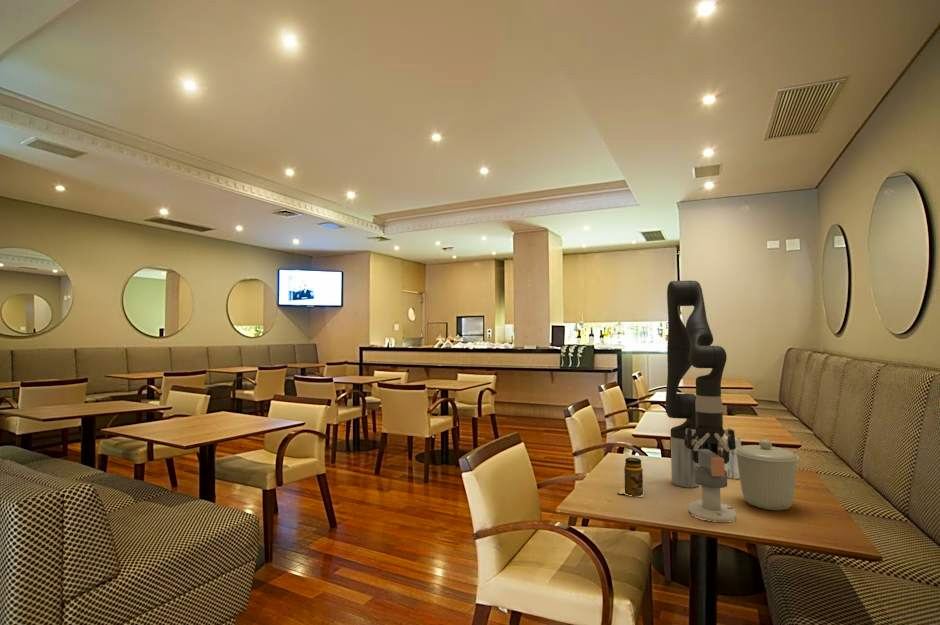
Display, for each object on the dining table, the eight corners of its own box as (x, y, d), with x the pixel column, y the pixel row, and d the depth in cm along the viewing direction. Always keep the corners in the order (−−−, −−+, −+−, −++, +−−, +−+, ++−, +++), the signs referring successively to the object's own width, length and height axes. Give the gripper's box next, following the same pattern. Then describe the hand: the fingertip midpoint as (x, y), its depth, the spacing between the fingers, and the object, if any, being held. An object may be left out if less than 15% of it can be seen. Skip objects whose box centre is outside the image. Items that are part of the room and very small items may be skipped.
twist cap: (688, 477, 154) (688, 448, 154) (718, 477, 153) (717, 449, 153) (703, 489, 142) (702, 458, 142) (735, 490, 141) (734, 459, 141)
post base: (682, 506, 154) (681, 477, 155) (724, 507, 153) (724, 479, 153) (697, 522, 141) (696, 491, 142) (743, 523, 140) (742, 492, 140)
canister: (765, 518, 144) (763, 447, 145) (722, 497, 162) (721, 434, 163) (816, 513, 148) (813, 444, 149) (768, 494, 165) (766, 432, 166)
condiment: (642, 498, 162) (641, 462, 162) (616, 494, 166) (616, 459, 166) (645, 492, 168) (645, 457, 169) (621, 488, 172) (620, 454, 173)
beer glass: (717, 475, 187) (716, 436, 188) (729, 473, 190) (728, 435, 191) (734, 480, 181) (732, 440, 181) (746, 477, 184) (745, 438, 184)
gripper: (727, 408, 151) (729, 460, 151) (680, 407, 153) (682, 459, 152) (738, 412, 144) (740, 466, 143) (689, 411, 145) (690, 465, 145)
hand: (710, 462), depth 148 cm, fingers open, 8 cm apart
